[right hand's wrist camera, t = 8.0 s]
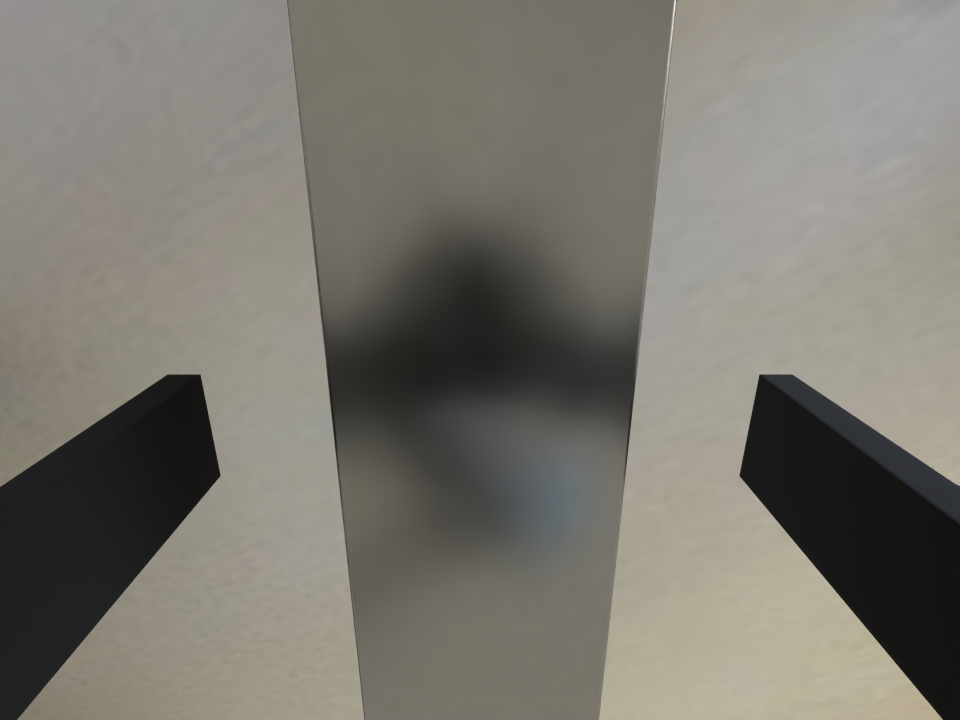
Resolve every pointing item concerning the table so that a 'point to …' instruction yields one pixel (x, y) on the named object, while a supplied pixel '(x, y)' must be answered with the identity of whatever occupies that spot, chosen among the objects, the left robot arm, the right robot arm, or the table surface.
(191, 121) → the table surface
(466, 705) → the bar
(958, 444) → the table surface
